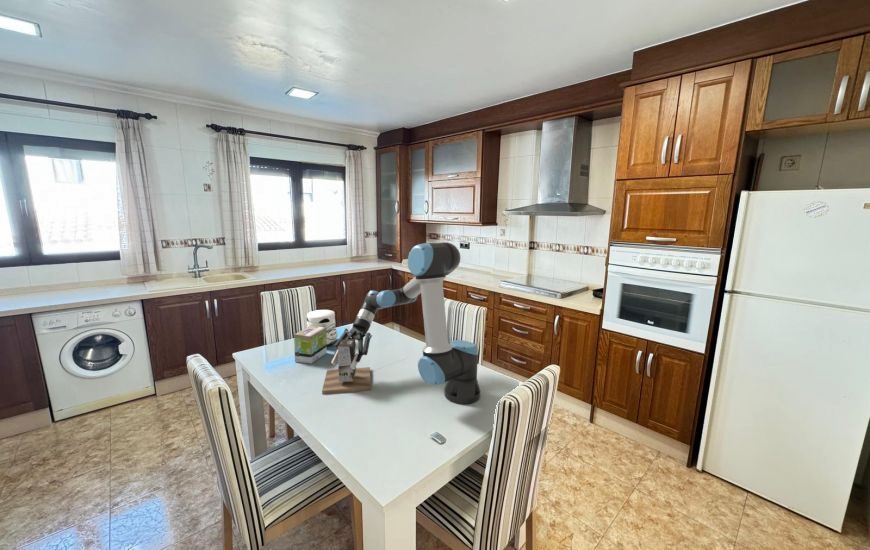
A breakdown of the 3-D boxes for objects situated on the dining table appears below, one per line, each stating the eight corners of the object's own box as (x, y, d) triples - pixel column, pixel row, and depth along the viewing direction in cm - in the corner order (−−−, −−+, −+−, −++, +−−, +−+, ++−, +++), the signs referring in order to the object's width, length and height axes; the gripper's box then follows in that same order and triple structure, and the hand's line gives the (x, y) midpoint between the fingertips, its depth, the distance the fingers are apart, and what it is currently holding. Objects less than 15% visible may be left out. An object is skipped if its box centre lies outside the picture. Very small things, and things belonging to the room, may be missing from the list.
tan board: (370, 390, 152) (370, 387, 151) (322, 393, 148) (322, 390, 148) (370, 370, 171) (370, 367, 171) (327, 372, 167) (327, 369, 167)
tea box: (312, 364, 176) (311, 336, 174) (294, 362, 178) (292, 334, 176) (327, 352, 191) (326, 326, 188) (310, 351, 193) (309, 325, 190)
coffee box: (353, 381, 153) (352, 346, 150) (338, 382, 152) (337, 346, 149) (356, 372, 162) (355, 338, 159) (342, 372, 161) (341, 338, 158)
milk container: (337, 347, 199) (336, 316, 196) (305, 350, 194) (303, 318, 191) (337, 337, 215) (336, 308, 212) (307, 339, 210) (305, 310, 207)
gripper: (386, 328, 163) (367, 374, 151) (348, 321, 172) (326, 364, 160) (380, 320, 157) (360, 367, 146) (340, 314, 166) (318, 358, 155)
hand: (342, 366), depth 153 cm, fingers closed on coffee box, 9 cm apart
